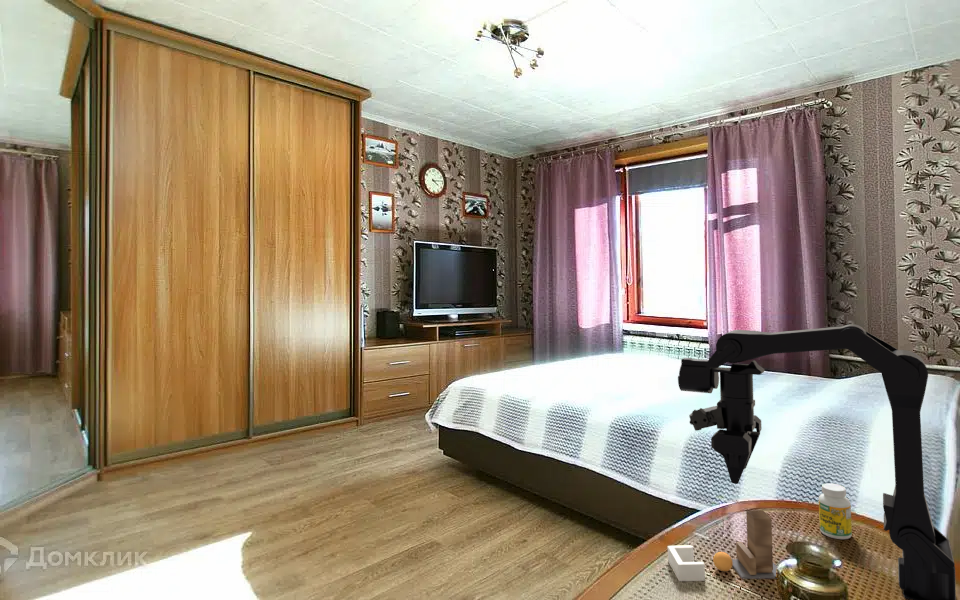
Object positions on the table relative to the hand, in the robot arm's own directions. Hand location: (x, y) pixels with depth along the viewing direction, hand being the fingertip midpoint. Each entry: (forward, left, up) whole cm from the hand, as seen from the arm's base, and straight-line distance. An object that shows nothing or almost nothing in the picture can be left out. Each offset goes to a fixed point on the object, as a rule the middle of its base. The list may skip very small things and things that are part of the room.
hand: (738, 475), depth 99 cm
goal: (+7, +13, -15) cm, 21 cm away
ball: (+1, +9, -13) cm, 16 cm away
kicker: (-3, +6, -14) cm, 16 cm away
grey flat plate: (-4, +6, -15) cm, 16 cm away
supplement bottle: (-15, -16, -15) cm, 26 cm away
